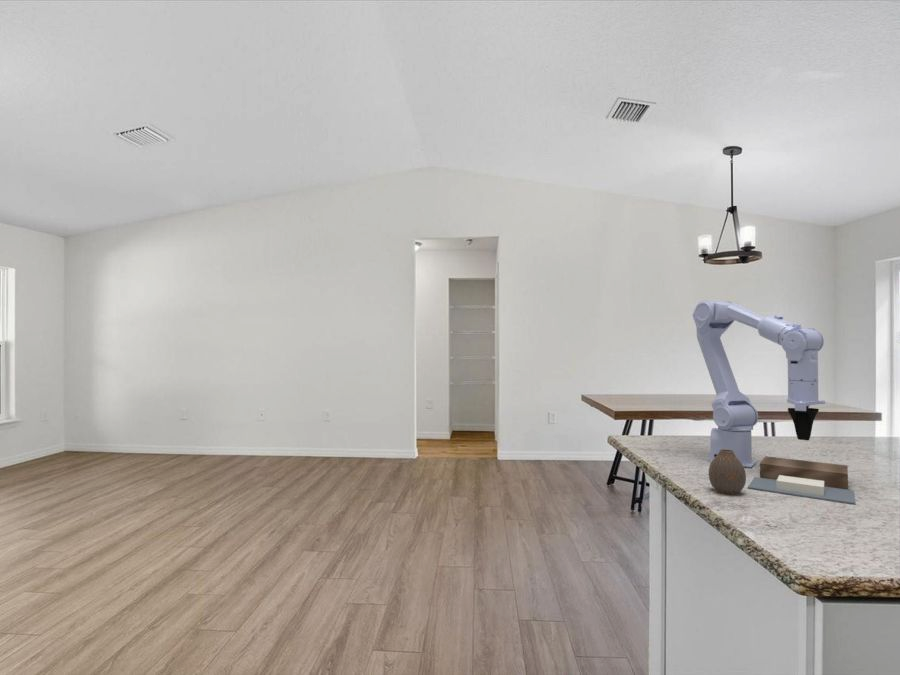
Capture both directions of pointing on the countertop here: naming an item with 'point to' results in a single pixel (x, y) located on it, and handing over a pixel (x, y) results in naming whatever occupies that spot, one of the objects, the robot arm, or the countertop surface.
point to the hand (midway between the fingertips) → (803, 439)
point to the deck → (805, 471)
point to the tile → (800, 485)
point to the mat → (829, 493)
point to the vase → (727, 473)
